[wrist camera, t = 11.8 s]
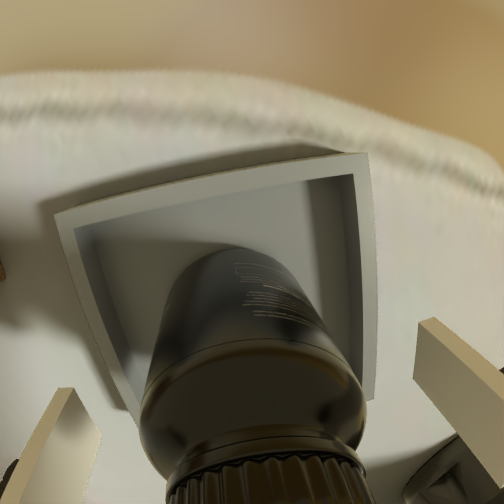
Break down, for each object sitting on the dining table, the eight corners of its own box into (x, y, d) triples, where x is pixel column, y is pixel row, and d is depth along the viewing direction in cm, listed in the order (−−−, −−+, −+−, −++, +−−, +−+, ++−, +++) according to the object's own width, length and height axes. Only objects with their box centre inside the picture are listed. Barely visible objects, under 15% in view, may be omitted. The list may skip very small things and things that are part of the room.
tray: (345, 152, 15) (367, 152, 13) (358, 375, 19) (373, 398, 17) (75, 205, 14) (53, 214, 12) (151, 415, 18) (146, 442, 16)
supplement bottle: (139, 293, 15) (51, 516, 4) (257, 217, 15) (384, 402, 3) (217, 384, 17) (234, 588, 6) (323, 325, 17) (437, 513, 6)
